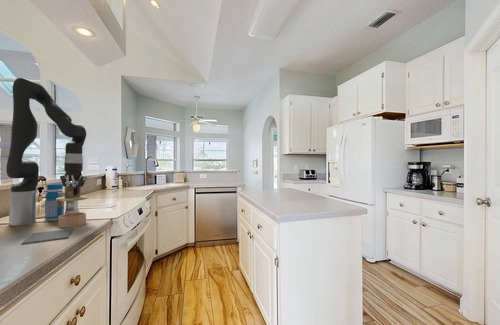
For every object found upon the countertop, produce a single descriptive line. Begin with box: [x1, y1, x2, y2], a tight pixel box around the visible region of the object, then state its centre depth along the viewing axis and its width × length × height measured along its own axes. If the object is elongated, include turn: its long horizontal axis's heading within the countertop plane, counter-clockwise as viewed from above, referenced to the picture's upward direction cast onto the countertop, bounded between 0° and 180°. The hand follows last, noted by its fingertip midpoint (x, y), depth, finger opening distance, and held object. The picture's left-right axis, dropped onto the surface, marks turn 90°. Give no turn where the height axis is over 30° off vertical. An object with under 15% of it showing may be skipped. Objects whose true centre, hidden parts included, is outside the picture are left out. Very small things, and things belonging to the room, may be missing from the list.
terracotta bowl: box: [58, 211, 87, 229], centre depth 114 cm, size 11×11×5 cm
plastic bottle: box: [64, 184, 80, 214], centre depth 126 cm, size 6×7×20 cm
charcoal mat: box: [21, 228, 74, 245], centre depth 95 cm, size 14×14×1 cm
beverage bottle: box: [44, 183, 65, 221], centre depth 125 cm, size 8×8×20 cm
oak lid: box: [56, 186, 89, 202], centre depth 114 cm, size 13×13×7 cm
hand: (72, 194), depth 114 cm, fingers closed on oak lid, 3 cm apart
